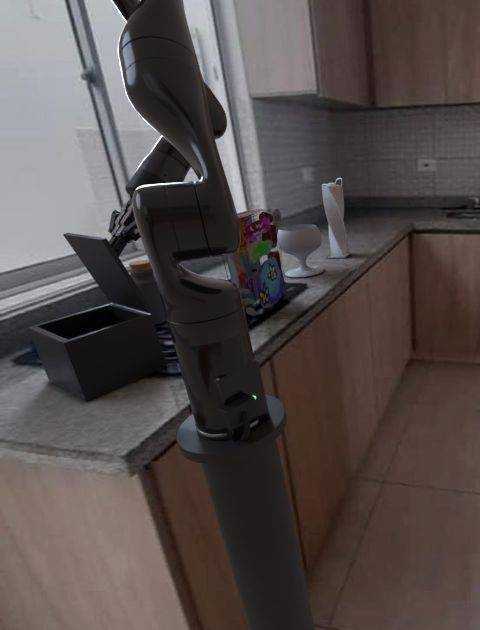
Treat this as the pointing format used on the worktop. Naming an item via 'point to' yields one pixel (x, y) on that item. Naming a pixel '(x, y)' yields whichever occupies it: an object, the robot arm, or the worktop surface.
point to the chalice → (300, 246)
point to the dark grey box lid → (108, 270)
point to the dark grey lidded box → (98, 349)
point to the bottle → (148, 288)
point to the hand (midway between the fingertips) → (108, 256)
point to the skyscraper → (335, 220)
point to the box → (258, 261)
